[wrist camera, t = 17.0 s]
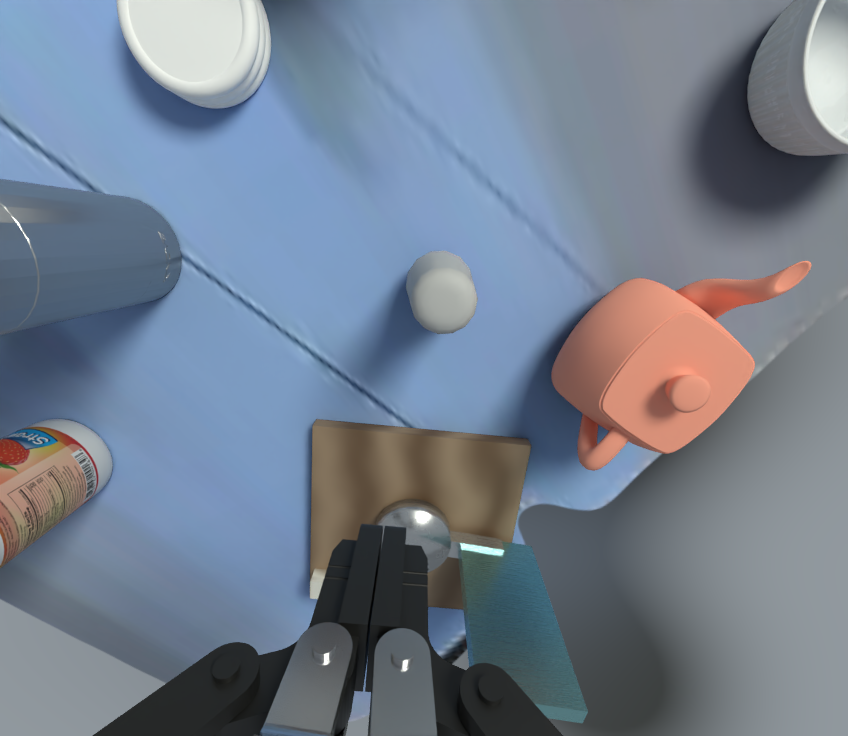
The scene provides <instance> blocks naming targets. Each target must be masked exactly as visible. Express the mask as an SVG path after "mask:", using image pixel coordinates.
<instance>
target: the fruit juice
mask: <svg viewBox="0 0 848 736" xmlns="http://www.w3.org/2000/svg"><path fill="white" fill-rule="evenodd" d="M112 470H113V462H112V457H111V454H110V451H109V449H108V447H107V446H106V444H105V443H104V442H103V440H102V439H101V438H100V437H99V436H98V435H97V434H96V433H95V432H93V431H92V430H91V429H89V428H88V427H86V426H84V425H82V424H80V423H77V422H74V421H71V420H66V419H49V420H44V421H40V422H37V423H34V424H32V425H29V426H27V427H25V428H23V429H21V430H19V431H17V432H14V433H12V434H10V435H8V436H6V437H4V438H2V439H0V568H1V567H2V566H4V565H5V564H6V563H8V562H9V561H10V560H12V559H13V558H14V557H15V556H17V555H18V554H19V553H21V552H22V551H23V550H25V549H26V548H27V547H28V546H30V545H31V544H32V543H34V542H35V541H36V540H38V539H39V538H40V537H41V536H43V535H44V534H45V533H47V532H48V531H49V530H51V529H52V528H53V527H54V526H56V525H57V524H58V523H60V522H61V521H62V520H63V519H65V518H66V517H67V516H69V515H70V514H71V513H73V512H74V511H75V510H76V509H78V508H79V507H80V506H82V505H83V504H84V503H86V502H87V501H88V500H89V499H91V498H92V497H93V496H95V495H96V494H97V493H98V492H99V491H100V490H101V489H102V488H103V487H104V486H105V485H106V484H107V482H108V481H109V479H110V477H111V474H112Z"/></svg>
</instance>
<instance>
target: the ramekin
mask: <svg viewBox="0 0 848 736" xmlns="http://www.w3.org/2000/svg"><path fill="white" fill-rule="evenodd" d="M747 99H748V108H749V112H750V116H751V119H752V121H753V123H754V126H755V128H756V129H757V131H758V133H759V134H760V135H761V136H762V137H763V139H764V140H765V141H766V142H768V143H769V144H770V145H771V146H772V147H775V148H777V149H778V150H780V151H784V152H786V153H789V154H794V155H805V156H822V155H835V154H848V0H794V1H793V2H792V3H791V4H790V5H789V6H788V7H787V9H786V10H785V11H783V13H782V14H781V15H780V16H779V17H778V18H777V20H776V21H775V23H774V24H773V25H772V26H771V27H770V29H769V31H768V33H767V34H766V36H765V37H764V39H763V40H762V42H761V45H760V47H759V49H758V50H757V52H756V56H755V59H754V61H753V63H752V67H751V72H750V75H749V83H748V95H747Z"/></svg>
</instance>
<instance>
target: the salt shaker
mask: <svg viewBox="0 0 848 736" xmlns="http://www.w3.org/2000/svg"><path fill="white" fill-rule="evenodd" d="M406 290H407V294H408V297H409V301H410V304H411V308H412V311H413V315H414V317H415V318H416V320H417V321H418V322H419V323H420V324H421V325H422V326H423V327H424V328H425V329H427V330H430V331H432V332H435V333H437V334H447V333H454V332H456V331H458V330H459V329H461V328H463V327H465V326H466V325H467V324H468V322H469V321H470V319H471V318H472V317H473V315H474V313H475V309H476V304H477V300H478V298H477V294H476V291H475V287H474V284H473V280H472V276H471V272H470V269H469V267H468V266H467V265H466V264H465V263H464V261H463V260H462V259H461V258H460V257H459V256H457V255H454V254H452V253H450V252H447V251H434V252H429V253H427V254H425V255H424V256H422V257H420V258H418V259H417V260H416V261H415V263H414V264H413V266H412V267H411V269H410V270H409V272H408V275H407V282H406Z"/></svg>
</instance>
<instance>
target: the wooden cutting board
mask: <svg viewBox="0 0 848 736" xmlns="http://www.w3.org/2000/svg"><path fill="white" fill-rule="evenodd" d="M530 450H531V444H530V442H529V440H528V439H525V438H514V437H503V436H492V435H481V434H471V433H460V432H449V431H438V430H427V429H416V428H406V427H395V426H384V425H373V424H362V423H352V422H341V421H330V420H319V419H316V421H315V422H314V424H313V429H312V492H311V556H310V599H318V597H319V594H320V590H321V587H322V584H323V580H324V578H325V574H326V570H327V567H328V564H329V561H330V557H331V554H332V551H333V550H334V548H335V547H336V546H337V545H338V544H339V543H340V542H341V540H342V539H346V540H357V539H358V534H359V530H360V526H361V524H371V525H376V521H377V519H378V517H379V515H380V513H381V512H382V511H383V510H384V509H385V508H386V507H387V506H389V505H390V504H392V503H394V502H397V501H400V500H404V499H421V500H425V501H428V502H430V503H432V504H434V505H435V506H437V507H438V508H439V509H441V510H442V512H443V513H444V514H445V515H446V517H447V519H448V522H449V526H450V530H451V531H456V532H462V533H468V534H474V535H480V536H485V537H491V538H497V539H501V540H502V541H503V542H509V543H512V539H513V534H514V529H515V524H516V519H517V514H518V509H519V504H520V499H521V494H522V489H523V484H524V479H525V474H526V469H527V464H528V460H529V455H530ZM428 607H439V608H451V609H463V599H462V589H461V579H460V569H459V559H458V558H452V557H447V558H446V560H445V561H444V562H443V563H442V564H441V565H440V566H439V567H438V568H436V569H434V570H433V571H430V572H428Z"/></svg>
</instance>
